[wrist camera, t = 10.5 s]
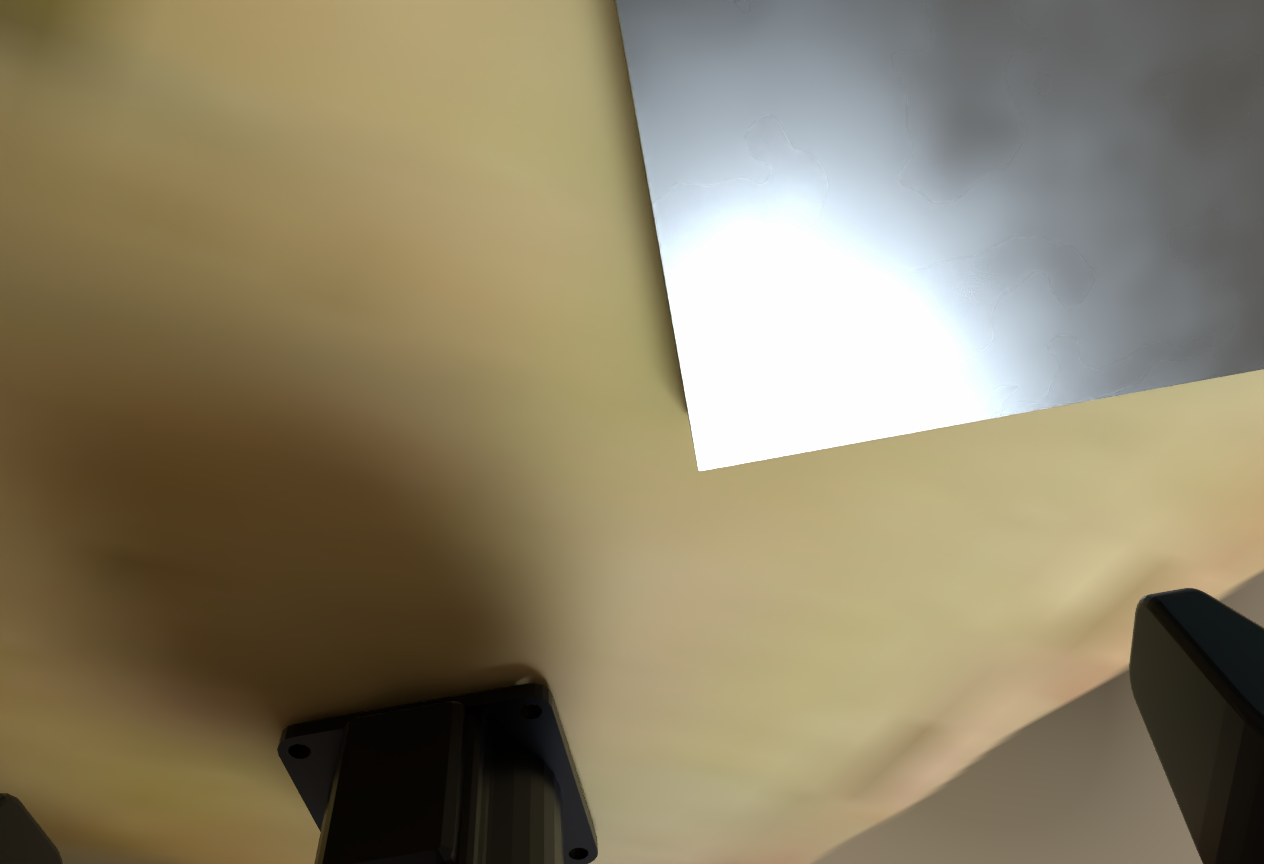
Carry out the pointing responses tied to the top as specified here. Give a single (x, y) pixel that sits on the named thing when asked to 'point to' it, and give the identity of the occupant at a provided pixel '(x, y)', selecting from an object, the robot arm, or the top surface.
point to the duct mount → (946, 207)
